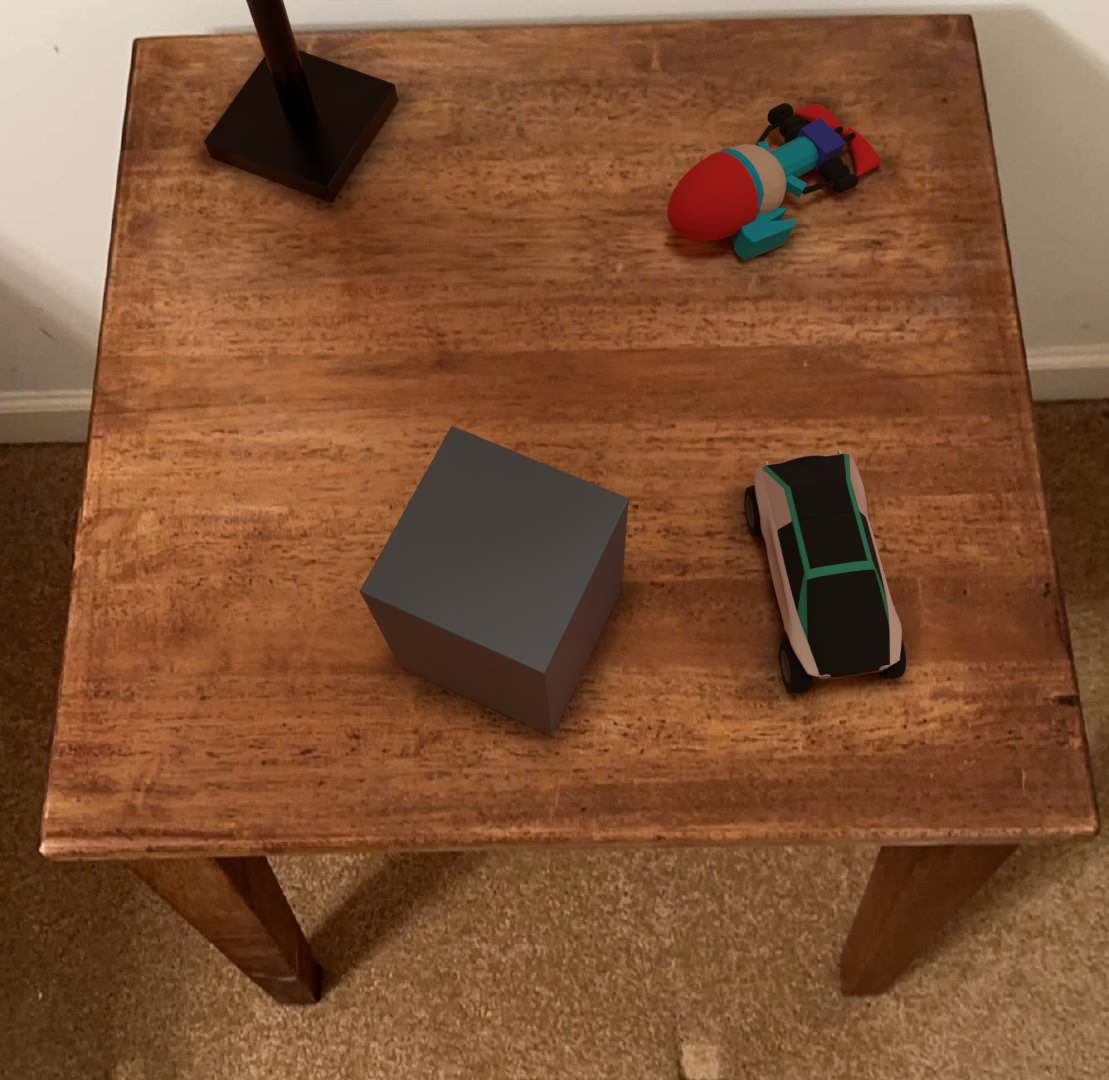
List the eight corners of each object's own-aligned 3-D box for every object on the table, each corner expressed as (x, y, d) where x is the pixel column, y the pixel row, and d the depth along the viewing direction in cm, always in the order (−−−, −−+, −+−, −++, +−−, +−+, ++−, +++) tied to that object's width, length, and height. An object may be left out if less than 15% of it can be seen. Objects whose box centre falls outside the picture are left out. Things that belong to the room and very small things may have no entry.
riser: (552, 736, 61) (544, 674, 50) (399, 667, 63) (358, 591, 52) (622, 588, 64) (629, 497, 53) (474, 525, 66) (451, 424, 55)
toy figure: (801, 116, 78) (627, 206, 72) (828, 58, 73) (645, 150, 68) (877, 196, 76) (705, 295, 71) (910, 142, 72) (729, 242, 66)
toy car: (843, 478, 66) (863, 434, 61) (898, 683, 62) (924, 654, 57) (739, 493, 66) (752, 451, 61) (787, 700, 62) (804, 672, 57)
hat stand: (332, 203, 74) (268, 0, 60) (210, 157, 76) (118, -52, 61) (398, 100, 77) (354, -118, 63) (280, 58, 79) (209, -164, 64)
